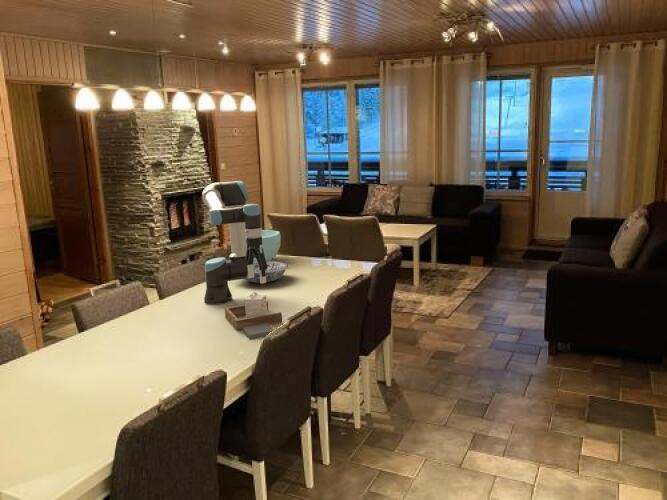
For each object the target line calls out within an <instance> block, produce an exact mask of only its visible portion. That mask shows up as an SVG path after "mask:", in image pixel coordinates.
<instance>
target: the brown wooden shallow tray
mask: <svg viewBox="0 0 667 500" xmlns="http://www.w3.org/2000/svg"><path fill="white" fill-rule="evenodd" d="M268 312H269V301H267V313H268ZM224 315H225V316H224V317H225V319H226V320H227V321H228V323H229V324H230V325H231V326H232V327H233V329H234V330H235V331H236V332H241V331H242V327H247V326H252V325H258V324H264V323H268V324H269V325H270V326H275V325H281V324H283V313H282V312H281V311H280V312H275V313H270V314H269V313H268V315H262V316H256V317H250V318H246V311H245V304H242V305H236V306H231V307H224ZM244 316H245V318H238V317H244Z"/></svg>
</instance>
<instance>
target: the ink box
mask: <svg viewBox="0 0 667 500" xmlns="http://www.w3.org/2000/svg"><path fill="white" fill-rule="evenodd" d="M267 302H268V300H267V295H266V294H259V293H257V291H253V292H252V293H250V294H249V295H248V296H247V297H245V298H244V305H245V311H246V315H245V318H250V317H256V316H262V315H268V314H269V313H268V312H267Z"/></svg>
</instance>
